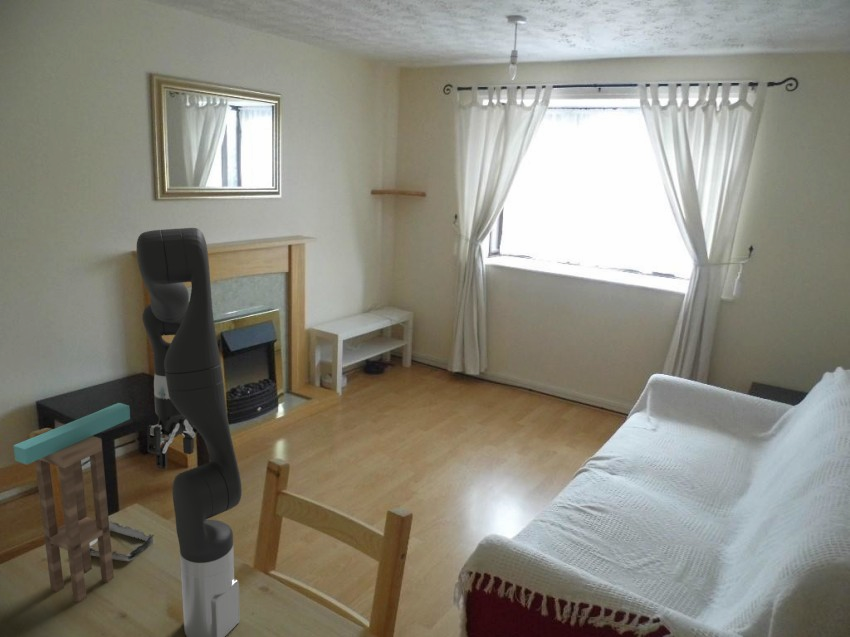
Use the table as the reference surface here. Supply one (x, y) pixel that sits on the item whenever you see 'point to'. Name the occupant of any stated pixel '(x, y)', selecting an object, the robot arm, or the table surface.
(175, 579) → the table surface
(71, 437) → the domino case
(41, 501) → the walnut stand
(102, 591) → the table surface
